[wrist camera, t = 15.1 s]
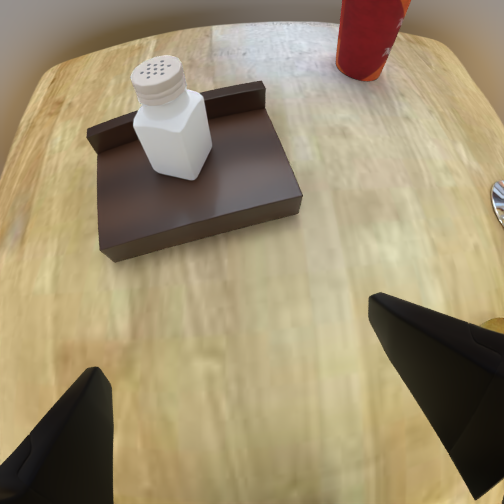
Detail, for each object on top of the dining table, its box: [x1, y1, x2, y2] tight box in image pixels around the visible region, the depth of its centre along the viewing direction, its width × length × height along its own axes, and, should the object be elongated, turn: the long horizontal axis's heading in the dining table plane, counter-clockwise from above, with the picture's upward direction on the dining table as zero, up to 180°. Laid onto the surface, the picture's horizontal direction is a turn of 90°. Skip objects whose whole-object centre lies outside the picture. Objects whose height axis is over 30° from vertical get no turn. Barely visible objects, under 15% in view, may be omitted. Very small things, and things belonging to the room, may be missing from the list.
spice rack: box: [86, 81, 303, 262], centre depth 24 cm, size 11×16×6 cm
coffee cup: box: [336, 0, 411, 81], centre depth 26 cm, size 8×8×15 cm
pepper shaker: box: [130, 55, 212, 180], centre depth 20 cm, size 4×4×10 cm
